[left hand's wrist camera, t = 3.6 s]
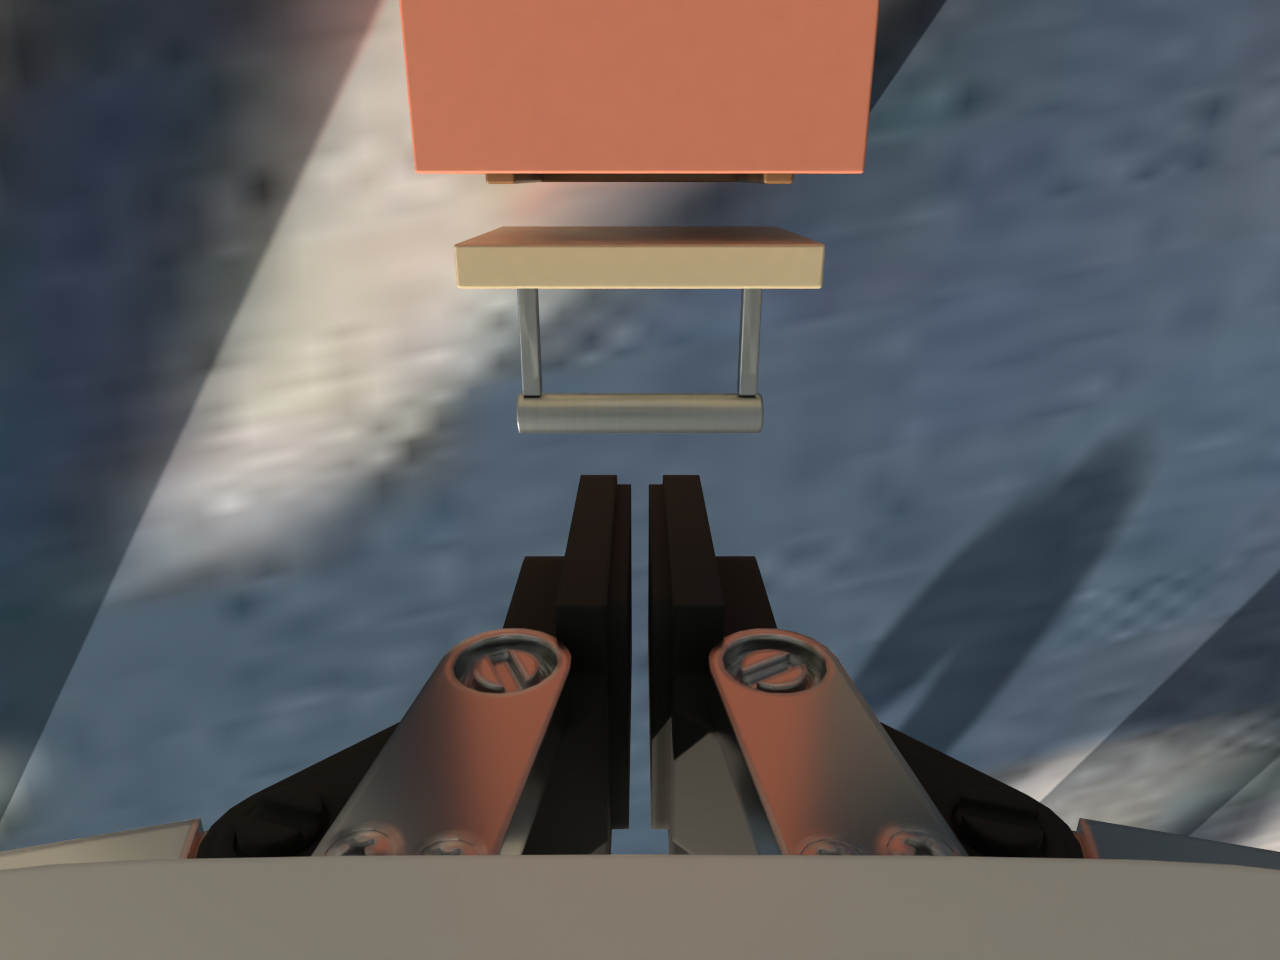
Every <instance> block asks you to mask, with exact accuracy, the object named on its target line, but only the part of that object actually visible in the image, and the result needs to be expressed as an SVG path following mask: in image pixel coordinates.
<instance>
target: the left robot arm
mask: <svg viewBox="0 0 1280 960" xmlns="http://www.w3.org/2000/svg"><path fill="white" fill-rule="evenodd" d="M631 671H632V591H631V484H617V475H581V477H580V482H579V487H578V492H577V497H576V502H575V507H574V512H573V517H572V522H571V527H570V532H569V537H568V543H567V548H566V553H565V556H525V558H524V561H523V564H522V567H521V570H520V574H519V577H518V580H517V584H516V587H515V590H514V593H513V597H512V600H511V603H510V607H509V610H508V613H507V616H506V620H505V623H504V626H503V629H500V630H494V631H488V632H484V633H481V634H478V635H475V636H472V637H469V638H467V639H465V640H464V641H462V642H460V643H459V644H457V645H455V646H454V647H452V648H451V650H450V651H449V652H448V653H447V654H446V655H445V656H444V657H443V658H442V660H441V661H440V663H439V664H438V666H437V667H436V669H435V670H434V672H433V673H432V675H431V676H430V678H429V679H428V681H427V682H426V684H425V685H424V687H423V688H422V690H421V691H420V693H419V694H418V696H417V697H416V699H415V700H414V702H413V703H412V705H411V706H410V708H409V709H408V711H407V712H406V714H405V715H404V717H403V718H402V720H401V721H400V722H399V723H397V724H395V725H393V726H391V727H389V728H387V729H385V730H383V731H381V732H379V733H377V734H375V735H373V736H371V737H369V738H367V739H365V740H363V741H361V742H359V743H357V744H355V745H353V746H351V747H349V748H347V749H345V750H343V751H341V752H338V753H336V754H334V755H332V756H330V757H328V758H326V759H324V760H322V761H320V762H318V763H316V764H314V765H312V766H310V767H308V768H306V769H304V770H302V771H300V772H298V773H296V774H294V775H292V776H290V777H288V778H286V779H284V780H282V781H280V782H278V783H276V784H274V785H272V786H270V787H268V788H266V789H264V790H262V791H260V792H258V793H256V794H254V795H252V796H250V797H249V798H247V799H245V800H244V801H242V802H240V803H239V804H237V805H236V806H234V807H232V808H231V809H229V810H228V811H227V812H226V813H225V814H224V815H223V816H222V817H221V818H220V819H219V820H217V821H216V822H215V823H214V824H213V825H212V826H211V828H210V829H209V831H203V827H202V823H201V819H200V818H198V819H192V820H186V821H180V822H174V823H168V824H162V825H157V826H151V827H145V828H139V829H133V830H127V831H121V832H115V833H109V834H104V835H98V836H92V837H86V838H80V839H74V840H68V841H62V842H56V843H50V844H45V845H39V846H33V847H27V848H21V849H15V850H9V851H3V852H0V960H1280V852H1277V851H1271V850H1265V849H1259V848H1253V847H1247V846H1241V845H1235V844H1230V843H1224V842H1218V841H1212V840H1206V839H1200V838H1194V837H1188V836H1182V835H1176V834H1171V833H1165V832H1159V831H1153V830H1147V829H1141V828H1135V827H1129V826H1123V825H1118V824H1112V823H1106V822H1100V821H1094V820H1088V819H1082V818H1080V819H1079V823H1078V827H1077V831H1071V829H1070V828H1069V826H1068V825H1067V824H1066V823H1065V822H1064V821H1063V820H1061V819H1060V818H1059V817H1058V816H1057V815H1056V814H1055V813H1054V812H1053V811H1052V810H1051V809H1049V808H1048V807H1046V806H1044V805H1043V804H1041V803H1040V802H1038V801H1036V800H1035V799H1033V798H1031V797H1030V796H1028V795H1026V794H1024V793H1022V792H1020V791H1018V790H1016V789H1014V788H1012V787H1010V786H1008V785H1006V784H1004V783H1002V782H1000V781H998V780H996V779H994V778H992V777H990V776H988V775H986V774H984V773H982V772H980V771H978V770H976V769H974V768H972V767H970V766H968V765H966V764H964V763H962V762H960V761H958V760H956V759H954V758H952V757H950V756H948V755H946V754H944V753H942V752H940V751H937V750H935V749H933V748H931V747H929V746H927V745H925V744H923V743H921V742H919V741H917V740H915V739H913V738H911V737H909V736H907V735H905V734H903V733H901V732H899V731H897V730H895V729H893V728H891V727H889V726H887V725H885V724H883V723H881V722H880V721H879V720H878V718H877V717H876V715H875V714H874V712H873V711H872V709H871V708H870V706H869V705H868V703H867V702H866V700H865V699H864V697H863V696H862V694H861V693H860V691H859V690H858V688H857V687H856V685H855V684H854V682H853V681H852V679H851V678H850V676H849V675H848V673H847V672H846V670H845V669H844V667H843V666H842V664H841V663H840V661H839V660H838V658H837V657H836V656H835V655H834V654H833V653H832V652H831V651H830V650H829V648H828V647H826V646H825V645H823V644H821V643H820V642H818V641H816V640H815V639H813V638H811V637H808V636H805V635H802V634H799V633H796V632H792V631H786V630H780V629H777V626H776V623H775V620H774V616H773V613H772V610H771V607H770V603H769V600H768V597H767V593H766V590H765V587H764V583H763V580H762V577H761V574H760V570H759V567H758V564H757V561H756V558H755V556H715V553H714V548H713V542H712V537H711V532H710V527H709V522H708V517H707V512H706V507H705V502H704V497H703V492H702V487H701V482H700V477H699V475H663V484H649V594H648V671H649V729H650V787H651V829H668V836H669V855H650V854H630V855H611V836H612V829H629V788H630V729H631Z"/></svg>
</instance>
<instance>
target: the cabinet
mask: <svg viewBox="0 0 1280 960" xmlns="http://www.w3.org/2000/svg"><path fill="white" fill-rule="evenodd" d="M399 2H400V13H401V23H402V34H403V45H404V56H405V67H406V78H407V88H408V99H409V110H410V121H411V132H412V143H413V153H414V164H415V171H416V172H417V173H438V174H486V173H794V174H838V173H863V171H864V167H865V156H866V145H867V134H868V123H869V113H870V102H871V91H872V80H873V69H874V58H875V47H876V36H877V25H878V15H879V4H880V0H399Z"/></svg>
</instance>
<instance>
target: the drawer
mask: <svg viewBox="0 0 1280 960" xmlns="http://www.w3.org/2000/svg"><path fill="white" fill-rule="evenodd" d="M793 177H794V173H486V182H487V183H488V184H517V183H532V182H748V183H764V184H790V183H792V182H793ZM454 254H455V267H456V280H457V286H458V288H461V289H490V288H517V295H518V314H519V333H520V352H521V370H522V389H523V393H521V394H519V395H518V397H517V404H516V420H517V427H518V431H519V432H520V433H760V432H761V429H762V424H763V400H762V396H761V394H759V393H757V378H758V359H759V340H760V321H761V302H762V288H821V287H822V284H823V271H824V258H825V245H824V244H821V243H819V242H816V241H813V240H811V239H808V238H805V237H803V236H800V235H797V234H795V233H792V232H789V231H787V230H784V229H781V228H779V227H501V228H498V229H496V230H493V231H490V232H488V233H485V234H482V235H479V236H477V237H474V238H471V239H469V240H466V241H463V242H461V243H458V244H456V245H455V246H454ZM538 288H742V291H741V314H740V337H739V360H738V382H737V391H738V393H542V370H541V348H540V325H539V302H538Z"/></svg>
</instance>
